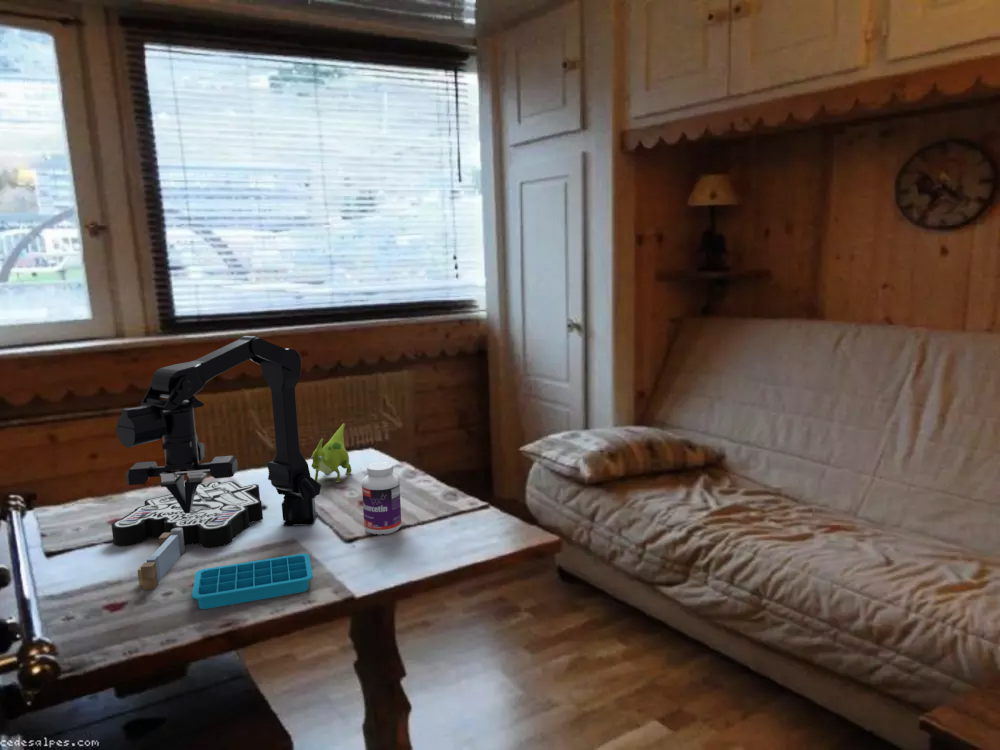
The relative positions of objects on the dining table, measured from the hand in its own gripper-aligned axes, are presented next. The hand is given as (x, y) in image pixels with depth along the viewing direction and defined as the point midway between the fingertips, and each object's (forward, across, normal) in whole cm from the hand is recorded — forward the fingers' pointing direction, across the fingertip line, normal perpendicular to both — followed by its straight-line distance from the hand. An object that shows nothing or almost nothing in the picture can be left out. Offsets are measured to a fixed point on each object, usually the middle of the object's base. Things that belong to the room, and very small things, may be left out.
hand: (188, 512), depth 136 cm
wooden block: (+11, +7, +5) cm, 14 cm away
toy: (+12, -24, -49) cm, 56 cm away
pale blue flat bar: (+11, +5, -2) cm, 13 cm away
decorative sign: (+12, +4, -26) cm, 29 cm away
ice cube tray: (+12, -13, +11) cm, 21 cm away
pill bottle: (+12, -37, -11) cm, 40 cm away
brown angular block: (+11, +7, -8) cm, 16 cm away
